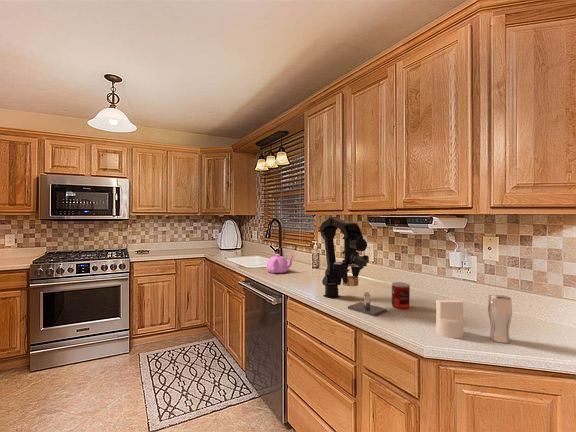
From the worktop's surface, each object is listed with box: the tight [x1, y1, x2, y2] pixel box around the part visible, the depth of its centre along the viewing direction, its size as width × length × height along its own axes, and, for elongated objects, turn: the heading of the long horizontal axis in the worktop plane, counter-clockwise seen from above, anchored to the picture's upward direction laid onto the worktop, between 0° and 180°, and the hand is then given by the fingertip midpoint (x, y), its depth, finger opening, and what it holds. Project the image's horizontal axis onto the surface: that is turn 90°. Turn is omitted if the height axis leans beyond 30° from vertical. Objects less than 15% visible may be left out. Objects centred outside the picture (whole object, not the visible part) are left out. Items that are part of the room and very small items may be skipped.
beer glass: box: [487, 294, 513, 344], centre depth 107 cm, size 7×7×15 cm
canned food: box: [391, 281, 411, 310], centre depth 144 cm, size 8×8×11 cm
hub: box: [342, 275, 359, 287], centre depth 143 cm, size 7×7×4 cm
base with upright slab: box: [435, 299, 465, 339], centre depth 112 cm, size 9×9×12 cm
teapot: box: [265, 253, 295, 274], centre depth 232 cm, size 22×22×14 cm
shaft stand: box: [347, 291, 388, 317], centre depth 140 cm, size 14×10×8 cm
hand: (350, 282), depth 143 cm, fingers closed on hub, 7 cm apart
